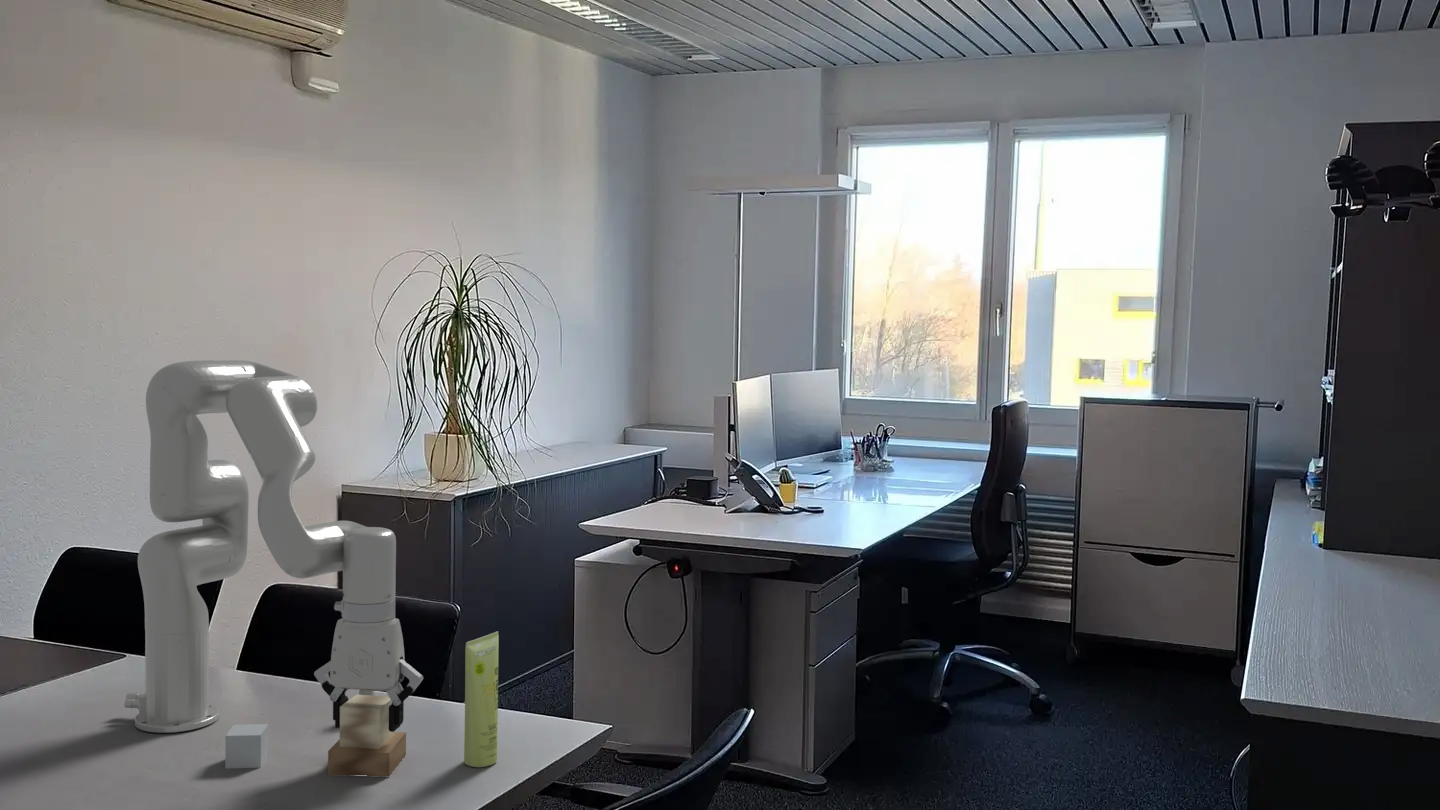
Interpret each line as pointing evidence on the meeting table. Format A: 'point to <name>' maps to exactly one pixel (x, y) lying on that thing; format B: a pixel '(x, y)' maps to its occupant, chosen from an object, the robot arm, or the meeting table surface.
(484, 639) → the tube
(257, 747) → the grey block
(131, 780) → the meeting table surface
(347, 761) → the walnut block
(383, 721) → the birch block
